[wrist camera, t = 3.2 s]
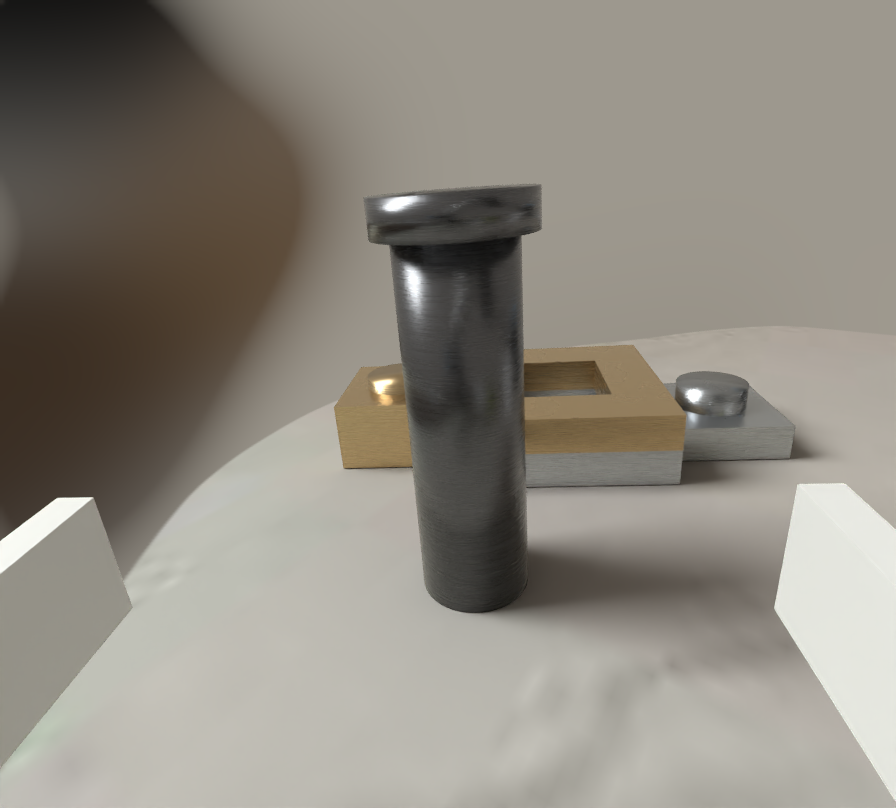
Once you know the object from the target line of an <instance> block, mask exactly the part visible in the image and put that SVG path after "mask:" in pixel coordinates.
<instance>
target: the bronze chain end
mask: <svg viewBox="0 0 896 808" xmlns="http://www.w3.org/2000/svg"><path fill="white" fill-rule="evenodd" d="M581 389H594V390H595V392H596V395H577V396H547V397H524V400H525V453H526V454H556V453H598V452H641V451H683V447H684V437H685V427H686V417H687V415H686V413H685V412H684V411H683V410H682V408H681V407H680V406H679V404H678V403H677V402H676V400H675V399H674V398H673V396H672V395H671V394H670V392H669V391H668V390H667V389H666V387H665V386H664V385H663V383H662V382H661V381H660V379H659V378H658V377H657V375H656V374H655V373H654V372H653V370H652V369H651V368H650V366H649V365H648V364H647V362H646V361H645V360H644V358H643V357H642V356H641V354H640V353H639V352H638V351H637V349H636V348H635V347H634V345H618V346H594V347H571V348H547V349H524V391H552V390H581ZM334 410H335V416H336V423H337V429H338V436H339V442H340V448H341V455H342V461H343V467H344V468H374V467H413V466H412V456H411V447H410V437H409V428H408V418H407V409H406V399H405V390H404V380H403V371H402V364H393V365H388V366H381V367H380V366H379V367H361V369H360V370H359V371H358V373H357V374H356V376H355V377H354V379H353V380H352V382H351V383H350V385H349V386H348V387H347V389H346V390H345V392H344V393H343V395H342V396H341V398H340V399H339V401H338V402H337V404H336V405H335V407H334Z"/></svg>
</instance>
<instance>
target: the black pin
mask: <svg viewBox="0 0 896 808" xmlns="http://www.w3.org/2000/svg"><path fill="white" fill-rule="evenodd" d="M364 206H365V215H366V223H367V232H368V240H369V242H371V243H376V244H385V245H389V247H390V255H391V265H392V275H393V285H394V295H395V303H396V314H397V323H398V333H399V342H400V351H401V360H402V371H403V380H404V390H405V399H406V409H407V418H408V428H409V437H410V447H411V456H412V466H413V476H414V485H415V495H416V504H417V514H418V523H419V533H420V542H421V552H422V561H423V571H424V580H425V586H426V589H427V591H428V593H429V594H430V595H431V596H432V598H434V599H435V600H436V601H437V602H439V603H440V604H442V605H444V606H446V607H448V608H451V609H454V610H458V611H463V612H485V611H491V610H495V609H498V608H501V607H503V606H505V605H508V604H509V603H511V602H512V601H514V600H515V599H516V598H518V597H519V596H520V594H521V593H522V592H523V590H524V589H525V587H526V585H527V581H528V558H527V505H526V453H525V400H524V348H523V296H522V295H523V294H522V243H521V235H526V234H530V233H534V232H537V231H539V230H541V229H542V219H541V218H542V217H541V216H542V214H541V213H542V212H541V210H542V209H541V184H517V185H495V186H480V187H479V186H478V187H463V188H449V189H436V190H424V191H412V192H402V193H392V194H384V195H376V196H368V197H364Z"/></svg>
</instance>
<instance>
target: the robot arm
mask: <svg viewBox="0 0 896 808" xmlns="http://www.w3.org/2000/svg"><path fill="white" fill-rule="evenodd" d="M132 608H133V607H132V605H131V602H130V599H129V596H128V593H127V591H126V588H125V585H124V582H123V579H122V577H121V574H120V571H119V568H118V565H117V563H116V560H115V557H114V554H113V551H112V548H111V546H110V543H109V540H108V537H107V535H106V532H105V529H104V526H103V523H102V520H101V518H100V515H99V512H98V509H97V506H96V504H95V501H94V498H57V499H56V500H54V501H53V502H52V503H50V504H49V505H48V506H46V507H45V508H44V509H42V510H41V511H40V512H38V513H37V514H36V515H34V516H33V517H32V518H30V519H29V520H28V521H26V522H25V523H24V524H22V525H21V526H20V527H19V528H17V529H16V530H14V531H13V532H12V533H10V534H9V535H8V536H7V537H5V538H4V539H3V540H1V541H0V768H1V767H2V766H3V765H4V763H5V762H6V761H7V760H8V758H9V757H10V756H11V755H12V754H13V752H14V751H15V750H16V749H17V748H18V746H19V745H20V744H21V743H22V741H23V740H24V739H25V738H26V737H27V735H28V734H29V733H30V732H31V730H32V729H33V728H34V727H35V726H36V724H37V723H38V722H39V721H40V720H41V718H42V717H43V716H44V715H45V713H46V712H47V711H48V710H49V709H50V707H51V706H52V705H53V704H54V703H55V701H56V700H57V699H58V698H59V696H60V695H61V694H62V693H63V692H64V690H65V689H66V688H67V687H68V686H69V684H70V683H71V682H72V681H73V679H74V678H75V677H76V676H77V675H78V673H79V672H80V671H81V670H82V669H83V667H84V666H85V665H86V664H87V662H88V661H89V660H90V659H91V658H92V656H93V655H94V654H95V653H96V652H97V650H98V649H99V648H100V647H101V645H102V644H103V643H104V642H105V641H106V639H107V638H108V637H109V636H110V635H111V633H112V632H113V631H114V630H115V628H116V627H117V626H118V625H119V624H120V622H121V621H122V620H123V619H124V618H125V616H126V615H127V614H128V613H129V611H130V610H131V609H132ZM774 609H775V611H776V613H777V614H778V616H779V617H780V619H781V620H782V622H783V624H784V625H785V627H786V628H787V630H788V632H789V633H790V635H791V636H792V638H793V640H794V641H795V643H796V644H797V646H798V647H799V649H800V651H801V652H802V654H803V655H804V657H805V659H806V660H807V662H808V663H809V665H810V667H811V668H812V670H813V671H814V673H815V674H816V676H817V678H818V679H819V681H820V682H821V684H822V686H823V687H824V689H825V690H826V692H827V694H828V695H829V697H830V698H831V700H832V701H833V703H834V705H835V706H836V708H837V709H838V711H839V713H840V714H841V716H842V717H843V719H844V720H845V722H846V724H847V725H848V727H849V728H850V730H851V732H852V733H853V735H854V736H855V738H856V740H857V741H858V743H859V744H860V746H861V747H862V749H863V751H864V752H865V754H866V755H867V757H868V759H869V760H870V762H871V763H872V765H873V767H874V768H875V770H876V771H877V773H878V774H879V776H880V778H881V779H882V781H883V782H884V784H885V786H886V787H887V789H888V790H889V792H890V794H891V795H892V797H893V798H894V800H895V801H896V529H894V528H893V527H892V526H891V525H890V524H889V523H888V522H887V521H886V520H884V519H883V518H882V517H881V516H880V515H879V514H878V513H877V512H876V511H875V510H873V509H872V508H871V507H870V506H869V505H868V504H867V503H866V502H865V501H864V500H862V499H861V498H860V497H859V496H858V495H857V494H856V493H855V492H854V491H853V490H851V489H850V488H849V487H848V486H847V485H846V484H845V483H833V484H798V486H797V491H796V496H795V501H794V507H793V512H792V517H791V522H790V528H789V533H788V538H787V543H786V549H785V554H784V559H783V564H782V570H781V575H780V580H779V585H778V591H777V596H776V601H775V606H774Z"/></svg>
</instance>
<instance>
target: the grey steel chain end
mask: <svg viewBox="0 0 896 808" xmlns="http://www.w3.org/2000/svg"><path fill="white" fill-rule="evenodd" d="M663 385H664V386H665V387H666V389H667V390H668V391H669V392H670V394H671V395H672V396H673V398H674V399H675V400H676V402H677V403H678V404H679V406H680V407H681V408H682V410H683V411H684V412H685V413H686V415H687V417H686V427H685V437H684V447H683V451H641V452H598V453H556V454H526V487H549V486H606V485H662V484H680V477H681V467H682V461H697V460H743V459H789V458H790V454H791V449H792V443H793V438H794V432H795V427H796V426H795V425H794V424H793V423H792V422H790V421H789V420H788V419H787V418H786V417H785V416H783V415H782V414H781V413H780V412H779V411H778V410H777V409H775V408H774V407H773V406H772V405H771V404H770V403H769V402H767V401H766V400H765V399H764V398H763V397H762V396H760V395H759V394H758V393H757V392H756V391H755V390H754V389H752V388H751V387H750V386H749V383H748V382H747V381H746V380H744V379H742V378H740V377H738V376H735V375H731V374H726V373H720V372H708V371H702V372H691V373H686V374H683V375H681V376H679V377H678V378H677V379H676V383H667V384H663ZM577 395H596V392H595V390H594V389H581V390H552V391H524V397H547V396H577Z"/></svg>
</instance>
